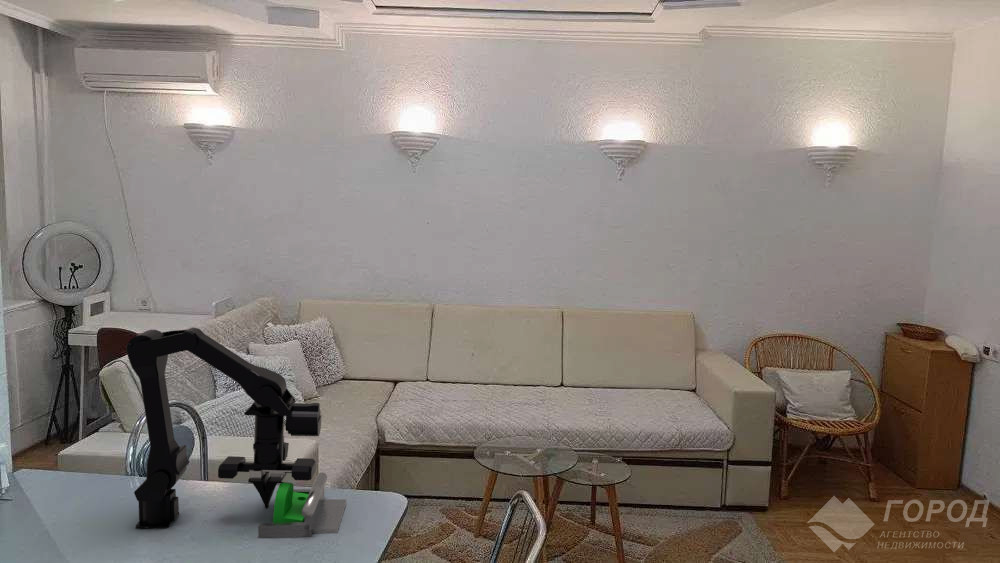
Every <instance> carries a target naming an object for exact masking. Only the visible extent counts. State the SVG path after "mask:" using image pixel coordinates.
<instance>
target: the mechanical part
mask: <svg viewBox="0 0 1000 563" xmlns="http://www.w3.org/2000/svg"><path fill="white" fill-rule="evenodd" d="M293 490H294V483H292V482H288V481H287V482H286V481H282V482H281V483H279V486H278V488H277V490H276V493H275V499H274V507H273V516H272V523H291V522H305V517H304V516H303V515H302V509H303V506H304V504H305V502H306V500H307V497H308V495H309V494H305V493H298V492H293Z"/></svg>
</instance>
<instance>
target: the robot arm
mask: <svg viewBox="0 0 1000 563" xmlns="http://www.w3.org/2000/svg"><path fill="white" fill-rule="evenodd" d="M125 349H126V350H125V351H126V352H125V353H126V355H127V357H128V361H129V364H130V367H131V368H132V370H133V372H134V373H135V374H136V375H137V377H138V379H139V383H140V389H141V394H142V402H143V407H144V408H143V409H144V415H145V421H146V425H147V426H146V427H147V432H148V440H149V452H148V457H147V461H146V473H145V474H146V476H145V477H146V478H145V480H144V481H143V482H142V483H141V484H140V485H139V486H138V487H137V488H136V489H135V491H134V492H133V494H134V497H135V498H136V502H138V522H137V523H136V524H135V529H162V528H163V529H164V528H166V529H167V528H169V527H171V525H172V524H173V523H174V521H175V520H176V519H177V518H178V516H179V515H180V509H179V505H180V504H179V496H176V494H177V492H176V488H173V487H174V486H175V485H176V484H177V482H178V481H179V480H180V479H181V478H182V476H183V475H184V474H185V472H186V471H187V466H188V465H189V464H190V460H189V459H188V456H187V452H188V450H187V445H186V444H185V445H182V446H179V444H178V442H177V441H176V439H175V435H174V428H173V421H172V415H171V414H172V413H171V408H170V407H171V406H170V401H169V394H168V388H167V381H166V370H167V369H166V368H167V363H168V359H169V355H172V354H177V353H179V352H180V353H181V352H186V351H187V352H189V353H191V355H192V354H193V355H194V356H196V357H197V358H198V359H200V360H202V361H204V362H205V363H207V364H209V365H210V366H211V367H213V368H214V369H215V370H217V371H219V372H221V373H222V374H224V375H225V376H227V377H229V378H230V379H232V380H233V381H235V382H236V383H237V384H238V385H239V386H240V387H241V389H242V390H243V391H244V393H246V395H247V396H248V397H249V398H250V399H251V400H253V403H252V404H251V406H249V407H248V408H247V409H246V410H245V411H244V415H245V416H254V440H253V441H254V442H253V445H252V448H253V462H249V461H248V462H246V461H247V459H246V457H245V456H232V455H231V456H230V455H229V456H227V457H226V458H224V460H222V462H221V463H220V464H219V466H218V468H217V478H219V479H232V480H233V479H234V478H235V477H237V476H238V474H239V473H249V478H248V480H247V482H248V483H250V484H253V486H254V488H255V489H256V491H257V492H258V494H259V496H260V499H261V500H262V503H263V505H264V509H265V510H268V509H269V508H270V502H271V500H272V497H273V494H274V491H275V489H276V487H277V485H278V484H279V485H280V483H281V482H284V479H285V478H286V476H287V474H291V478H293V479H294V480H295V481H311V480H312V479H313V477H314V475H315V473H316V471H317V461H316V460H315V459H314V458H304V457H303V458H302V457H301V458H299V457H297V458H296V460H295V461H294V463H284V462H285V461H286V460H287V458H288V454H289V453H288V452H289V446H290V445H289V442H285V436H284V432H285V431H286V432H287V434H288V435H290V436H291V437H319V436H320V435H321V428H322V415H321V404H320V403H319V402H312V403H296V402H297V400H296V398H295V397H294V396H293V394H292V393H291V392H290V390H289V388H288V386H287V383H286V379H285V377H284V376H283V375H281V374H280V373H278V372H275V371H273V370H270V369H268V368H266V367H263V366H258V365H256V364H252V363H250V362H249V361H247V360H245V359H244V358H242V357H241V356H240V355H237V354H236V353H235V352H233V351H232V350H230V349H229V348H227V347H226V346H224V345H223V344H221V343H219V342H218V341H216V340H215V339H214V338H212V337H210V336H209V335H207V334H206V333H204V332H203V331H202V330H201V329H200V328H198V327H190V328H187V329H177V330H169V331H163V332H162V331H160V330H157V329H148V330H145V331H143V332H141V333H139V334H137V335H136V336H134V337H132V338H130V340H129V341H128V343H126V348H125ZM284 423H285V424H284ZM284 425H285V426H284ZM284 427H285V430H284Z"/></svg>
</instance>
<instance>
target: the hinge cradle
mask: <svg viewBox="0 0 1000 563" xmlns="http://www.w3.org/2000/svg"><path fill="white" fill-rule="evenodd" d="M327 480H328V475H327V474H326V473H324V472H319V473H318V474H317V475H316V476H315V479H314V481H313V484H312V486H311V488H310V489H309V488H307V489H305V488H304V489H301V488H300V489H298V488H297V489H294V488H293V492H298V493H305V494H309V495H308V497H307V500H306V502H305V504H304V506H303V509H302V515H303V516H304V517H305V522H291V523H273V522H259V523H258V525H257V530H258V531H257V533H258V539H260V538H262V539H264V538H265V539H267V538H312V534H334V533H335V534H338V533H339V528H340V526H341V522H342V519H343V515H344V511H345V509H346V505H347V499H346V498H345V499H344V498H343V499H339V498H338V499H337V498H336V499H333V498H332V499H325V495H326V494H325V488H326V487H325V486H326V483H327Z"/></svg>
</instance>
